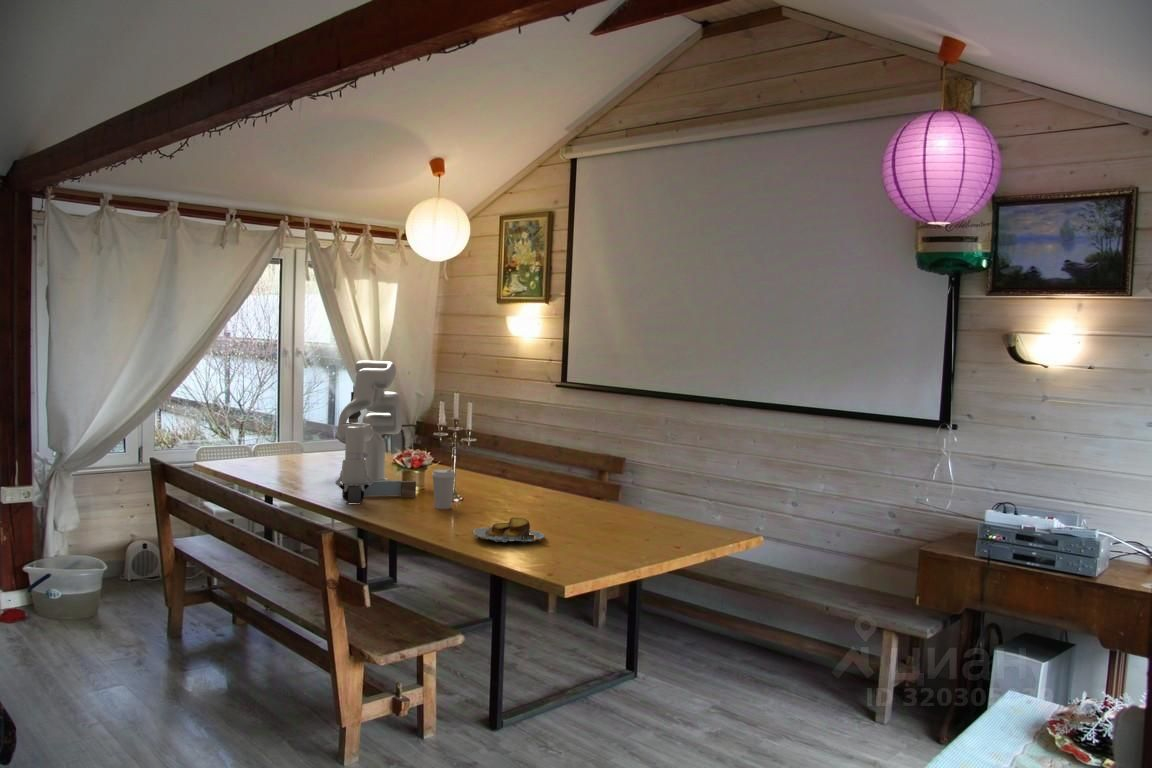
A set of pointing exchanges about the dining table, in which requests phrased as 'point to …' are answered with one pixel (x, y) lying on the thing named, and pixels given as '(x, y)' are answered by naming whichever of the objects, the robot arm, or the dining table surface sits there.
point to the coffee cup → (443, 487)
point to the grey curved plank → (383, 488)
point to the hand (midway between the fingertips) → (353, 500)
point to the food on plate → (509, 531)
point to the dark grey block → (354, 493)
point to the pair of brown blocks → (404, 489)
